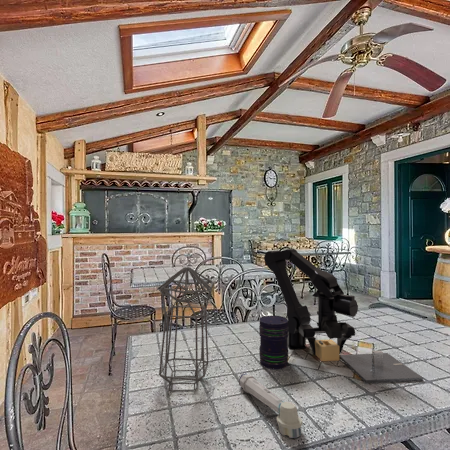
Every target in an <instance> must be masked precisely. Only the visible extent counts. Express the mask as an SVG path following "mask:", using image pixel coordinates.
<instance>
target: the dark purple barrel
mask: <svg viewBox="0 0 450 450" xmlns="http://www.w3.org/2000/svg"><path fill="white" fill-rule="evenodd" d="M258 330H259V332H258V334H259V338H260V339H259V340H260V341H259V342H260V343H259V344H260V345H259V348H258V350H259V351H258V352H259V353H258V354H259V365H260V366H261V367H263V368H265V369H268V370H275V371H276V370H278V371H279V370H283V369H287V367H288V366H289V362H288V361H289V347H288V346H287V338H288V318H287V317H284V316H281V315H265V316H261V317H259V327H258Z"/></svg>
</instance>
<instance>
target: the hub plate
mask: <svg viewBox="0 0 450 450" xmlns="http://www.w3.org/2000/svg"><path fill="white" fill-rule="evenodd" d="M339 360H341V361H342V362H343V363H344V364H345V365H346V366H347V367H348V368H349V369H350V370H351V371H352V372H353V373H354V374H355V375H357V376H358V378H360V379H361V380H362V381H363V382H364V384H383V383H384V384H385V383H402V382H403V383H404V382H405V383H406V382H422V381H424V377H423V376H422V375H420V374H419V373H418V372H416V371H414V370H413V369H412V368H410V367H408V365H405V364H404V363H402V361H400V360H398V359H397V358H395V357H394V356H392V355H391V354H390V353H388V352H383V351H382V350H372V351H371V353H353V354H339Z"/></svg>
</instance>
